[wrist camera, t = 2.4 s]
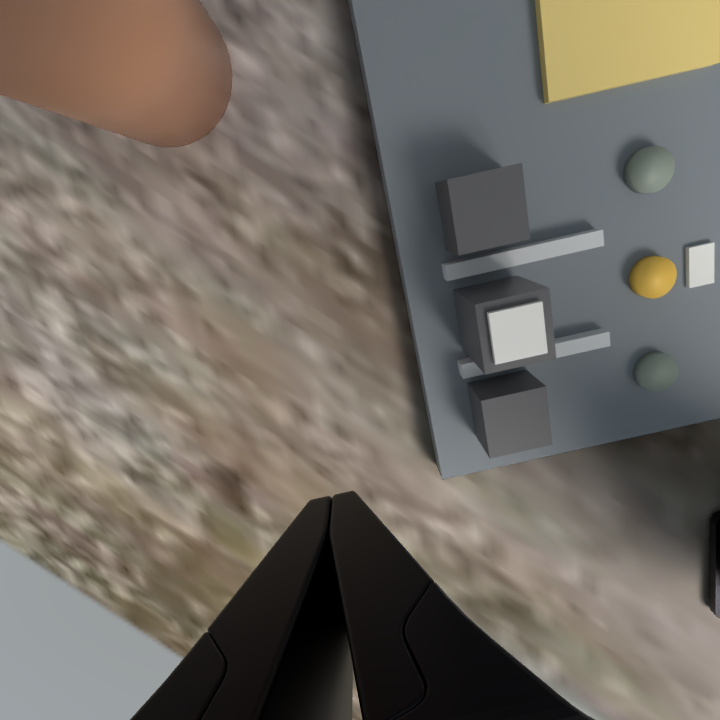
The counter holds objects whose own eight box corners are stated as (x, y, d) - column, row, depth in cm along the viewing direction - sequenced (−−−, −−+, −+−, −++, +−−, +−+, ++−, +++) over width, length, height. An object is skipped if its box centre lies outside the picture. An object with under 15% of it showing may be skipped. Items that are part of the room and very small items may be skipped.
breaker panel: (733, 399, 23) (796, 429, 20) (436, 465, 23) (453, 505, 20) (744, -136, 17) (836, -212, 14) (340, -40, 17) (341, -95, 14)
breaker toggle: (523, 336, 20) (559, 360, 17) (463, 350, 20) (486, 376, 17) (516, 275, 19) (552, 288, 16) (453, 289, 19) (476, 305, 16)
